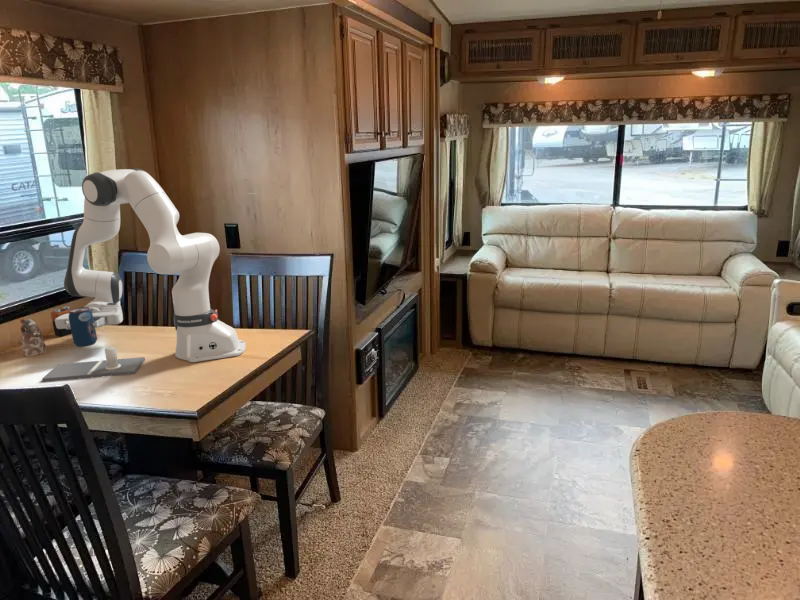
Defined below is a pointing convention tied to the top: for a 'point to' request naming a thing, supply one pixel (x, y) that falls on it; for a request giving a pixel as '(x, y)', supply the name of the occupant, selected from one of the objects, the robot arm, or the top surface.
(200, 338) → the robot arm
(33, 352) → the figurine
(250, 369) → the top surface
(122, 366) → the board
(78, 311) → the soda can
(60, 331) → the battery
